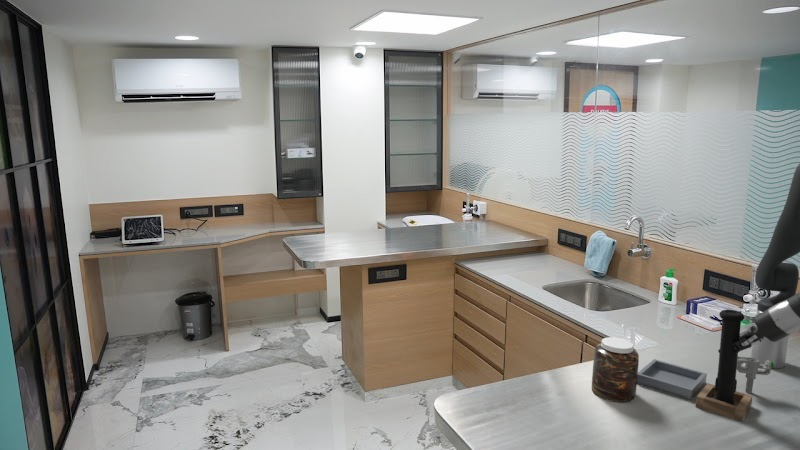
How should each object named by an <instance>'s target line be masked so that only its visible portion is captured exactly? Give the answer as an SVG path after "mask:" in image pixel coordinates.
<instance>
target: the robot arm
mask: <svg viewBox="0 0 800 450" xmlns="http://www.w3.org/2000/svg"><path fill="white" fill-rule="evenodd" d="M798 254H800V163H798V164H797V166H796V168H795V170H794V173H793V177H792V179H791V183H790V187H789V191H788V194H787V198H786V201H785V204H784V205H783V209H782V211H781V214H780V216H779V218H778V220H777V223H776V224H775V228H774V230H773V234H772V237H771V239H770V241H769V245H768V247H767V249H766V250H765V253H764V255H763V256H762V258H761V259H760V261H759V264H758V266H757V269H756V270H755V271H756V272H755V274H754V275H755V276H754V280H755V281H754V282H755V285H756V287H758V288H759V289H760V290H763V291H770V292H771V291H772V292H779V293H778V294H776V295H773V296H770V297H766V298H762V299H760V300H759V301H758V303H757V310H756V315H755V316H754V318H753V321H754V325H751V326H749V327H748V328H747V329H746V330H744V331H742V332H740V336H739V340H737V341H736V342H734V343H732V345H735V344H736V345H735V346H734V349H735V351H736V353H737V352H738V353H739V352H742V351H744V350H747V349H750V348H751V356H750V358H755V359H758V360H759V363H760V364H764V363H765V361H766V360H769V361H770V362H773V364H774V366H773V367H771V369H773V368H774V369H783V368H785V366H786V361H787V360H786V358H787V351H788V345H789V338H790V335H792V334H794V333H795V332H797V331H799V330H800V291H799V292H798V293H797V289H798V284H799V279H800V272H799V271H800V270H799V269H798V268H799V267H798V265H796V264H795V263H789V262H784V261H786V260H788V259H790V258H792V257H794V256H796V255H798ZM717 351H718V353H719V354H720V348H719V349H718V350H717Z"/></svg>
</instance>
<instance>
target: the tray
mask: <svg viewBox="0 0 800 450" xmlns="http://www.w3.org/2000/svg"><path fill="white" fill-rule="evenodd" d="M707 375H708V373H706V372H703V371H700V370H699V371H698V370H695V369H692V368H688V367H685V366H681V365H676V364H674V363H669V362H667V361H662V360H659V359H656V358H654V359H652V360H651V361H650V362H649V363H648V364H647V365H645V366H644V367H643V368H642V369H640V370H639V371H638V376H637V385H640V386H643V387H646V388H648V389H649V388H650V389H653V390H656V391H660V392H662V393H665V394H668V395H671V396H674V397H678V398H681V399H685V400H688V401H692V400H693V399H694V398H695V396H697V395H698V394H699V393H700V392H699V391H701V390H702V389H703V388H704V387H705V385H706V384H707ZM704 384H705V385H704ZM692 398H693V399H692Z"/></svg>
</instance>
